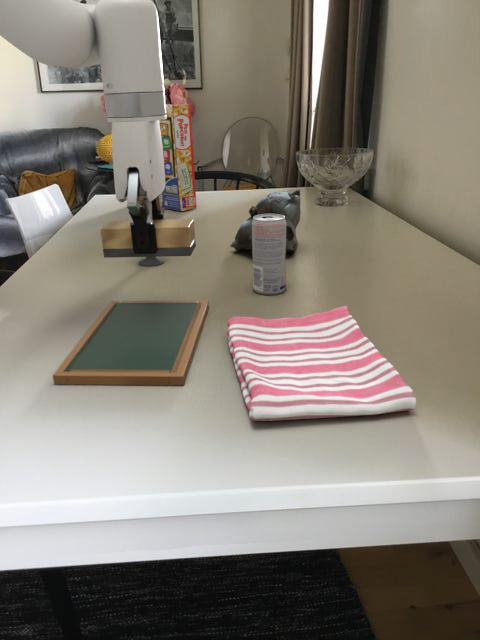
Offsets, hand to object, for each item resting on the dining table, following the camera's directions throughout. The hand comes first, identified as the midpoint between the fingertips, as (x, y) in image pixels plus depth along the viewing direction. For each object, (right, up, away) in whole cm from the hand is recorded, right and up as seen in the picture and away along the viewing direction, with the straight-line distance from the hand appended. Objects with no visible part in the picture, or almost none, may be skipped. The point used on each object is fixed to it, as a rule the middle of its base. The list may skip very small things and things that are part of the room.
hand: (150, 246), depth 79 cm
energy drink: (+17, -6, +14) cm, 23 cm away
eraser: (0, -1, 0) cm, 1 cm away
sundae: (-4, +1, +30) cm, 30 cm away
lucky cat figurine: (+18, +4, +36) cm, 40 cm away
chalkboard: (0, -13, -3) cm, 14 cm away
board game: (-9, +22, +81) cm, 85 cm away
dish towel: (+20, -16, -12) cm, 29 cm away
